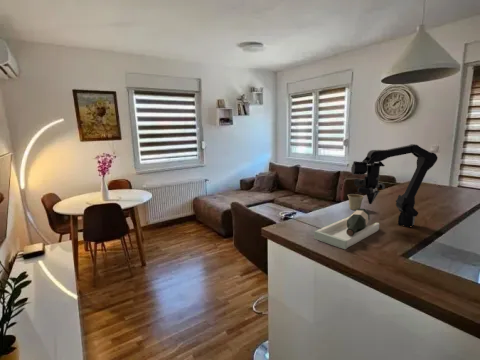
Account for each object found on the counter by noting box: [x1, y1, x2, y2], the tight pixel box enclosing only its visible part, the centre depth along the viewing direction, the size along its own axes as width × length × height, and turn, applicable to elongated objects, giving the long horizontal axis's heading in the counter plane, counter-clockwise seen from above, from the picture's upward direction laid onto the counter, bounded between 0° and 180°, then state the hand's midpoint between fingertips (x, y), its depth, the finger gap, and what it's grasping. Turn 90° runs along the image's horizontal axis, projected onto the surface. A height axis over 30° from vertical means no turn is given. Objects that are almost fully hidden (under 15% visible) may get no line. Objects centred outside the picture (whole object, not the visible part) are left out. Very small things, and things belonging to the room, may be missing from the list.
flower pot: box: [347, 193, 365, 211], centre depth 169 cm, size 9×9×9 cm
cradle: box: [313, 216, 380, 250], centre depth 129 cm, size 15×34×4 cm, turn 131°
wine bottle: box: [346, 208, 370, 236], centre depth 129 cm, size 8×8×30 cm
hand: (370, 203), depth 141 cm, fingers closed
